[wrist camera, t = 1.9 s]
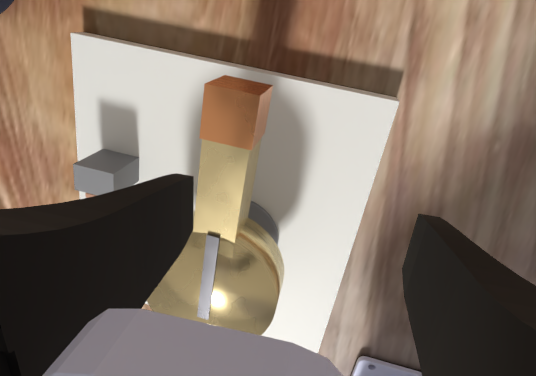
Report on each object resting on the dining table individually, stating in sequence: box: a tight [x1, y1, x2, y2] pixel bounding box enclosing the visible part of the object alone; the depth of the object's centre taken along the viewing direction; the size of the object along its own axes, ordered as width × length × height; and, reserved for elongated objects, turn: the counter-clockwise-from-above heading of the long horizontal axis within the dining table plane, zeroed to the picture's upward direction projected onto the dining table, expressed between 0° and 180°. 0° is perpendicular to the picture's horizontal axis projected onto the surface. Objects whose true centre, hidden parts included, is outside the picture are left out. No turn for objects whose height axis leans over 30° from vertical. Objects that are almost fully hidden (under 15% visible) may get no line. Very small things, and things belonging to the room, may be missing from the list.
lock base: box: [71, 32, 399, 353], centre depth 23 cm, size 18×18×4 cm
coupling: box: [147, 75, 284, 335], centre depth 18 cm, size 14×7×3 cm, turn 171°
